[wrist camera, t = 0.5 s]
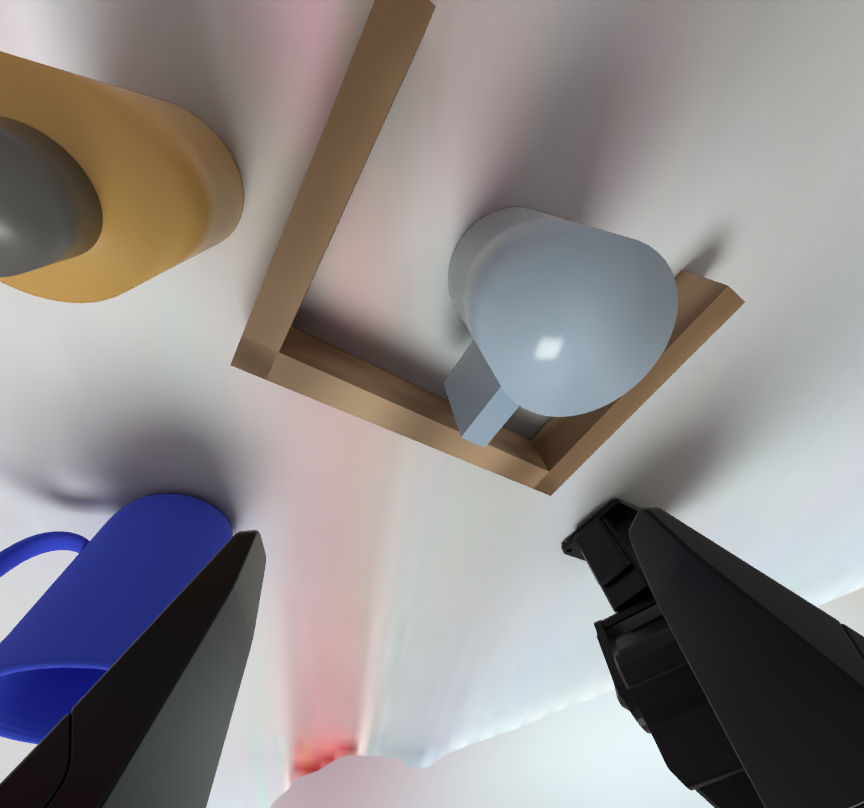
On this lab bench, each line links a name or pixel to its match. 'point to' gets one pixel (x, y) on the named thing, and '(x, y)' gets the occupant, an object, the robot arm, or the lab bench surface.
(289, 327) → the cradle
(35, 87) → the reagent bottle
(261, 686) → the lab bench surface
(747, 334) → the lab bench surface
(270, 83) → the lab bench surface
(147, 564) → the mug
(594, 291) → the pale blue canister
